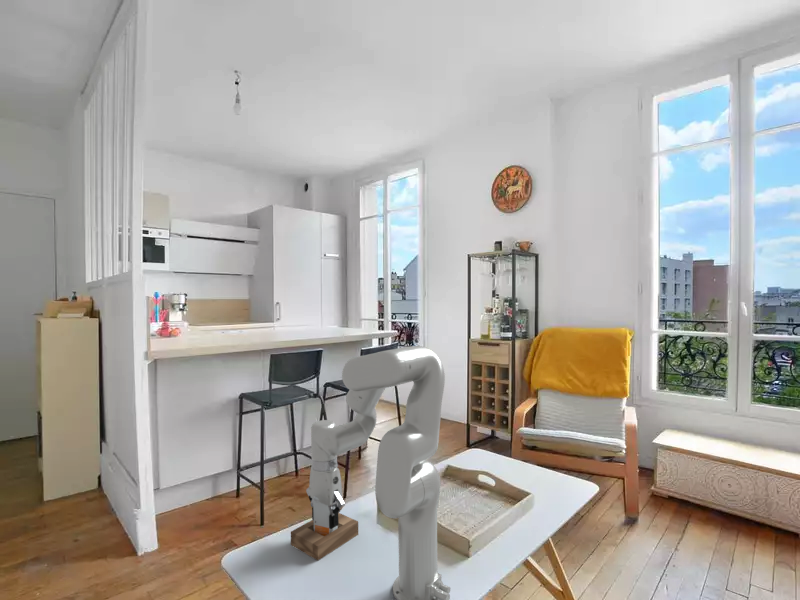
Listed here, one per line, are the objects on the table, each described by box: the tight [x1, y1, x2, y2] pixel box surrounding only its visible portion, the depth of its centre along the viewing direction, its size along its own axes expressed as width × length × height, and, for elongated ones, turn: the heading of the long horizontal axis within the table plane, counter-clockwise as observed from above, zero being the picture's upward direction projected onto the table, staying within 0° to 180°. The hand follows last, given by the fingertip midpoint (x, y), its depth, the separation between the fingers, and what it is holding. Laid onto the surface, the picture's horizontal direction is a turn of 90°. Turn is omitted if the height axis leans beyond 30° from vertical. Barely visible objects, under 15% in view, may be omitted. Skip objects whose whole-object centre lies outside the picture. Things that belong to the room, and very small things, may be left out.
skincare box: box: [313, 497, 338, 536], centre depth 125 cm, size 6×4×12 cm
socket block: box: [290, 512, 359, 561], centre depth 125 cm, size 12×16×4 cm
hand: (325, 522), depth 125 cm, fingers closed on skincare box, 6 cm apart
